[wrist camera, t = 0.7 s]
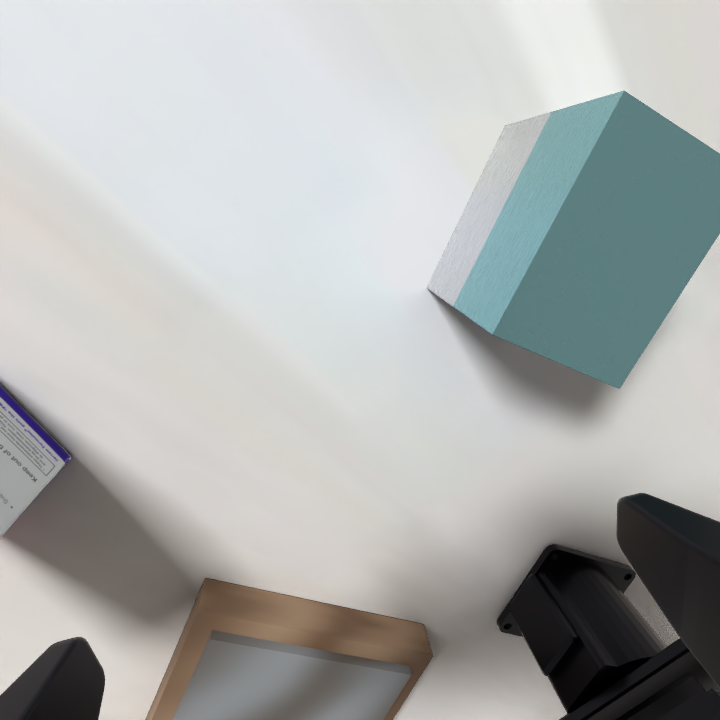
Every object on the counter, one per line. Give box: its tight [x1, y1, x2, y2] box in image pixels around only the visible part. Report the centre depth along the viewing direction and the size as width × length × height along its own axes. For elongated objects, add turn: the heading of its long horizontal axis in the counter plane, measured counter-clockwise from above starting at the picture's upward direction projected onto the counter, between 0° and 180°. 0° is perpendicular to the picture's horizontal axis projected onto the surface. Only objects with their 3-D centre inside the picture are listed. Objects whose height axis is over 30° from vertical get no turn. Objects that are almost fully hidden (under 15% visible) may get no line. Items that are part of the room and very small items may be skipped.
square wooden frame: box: [146, 578, 433, 720], centre depth 26 cm, size 13×13×2 cm
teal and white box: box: [427, 91, 720, 389], centre depth 17 cm, size 7×5×7 cm
